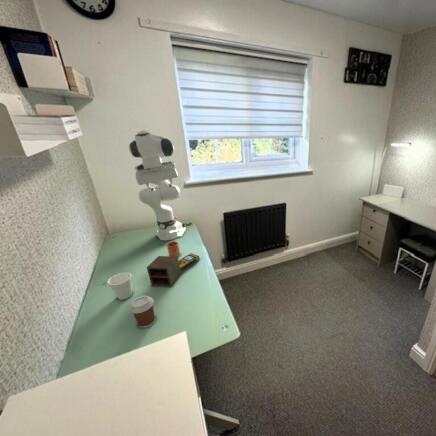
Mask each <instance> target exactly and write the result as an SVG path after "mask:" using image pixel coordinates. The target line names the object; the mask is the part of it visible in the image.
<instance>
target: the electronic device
mask: <svg viewBox="0 0 436 436" xmlns="http://www.w3.org/2000/svg"><path fill="white" fill-rule="evenodd" d="M178 261H179V266H180V271H181V272H183V271H184V270H186V269H187V268H189V267H191V266H192V265H193V264H195V263H196V262H198V261H200V256H199V255H198V254H194V253H191V252H190V253H189V254H187V255H185V256H184V257H182V258H180V259H178Z"/></svg>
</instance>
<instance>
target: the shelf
mask: <svg viewBox="0 0 436 436" xmlns="http://www.w3.org/2000/svg"><path fill="white" fill-rule="evenodd" d="M178 260H179V257H170V256H169V255H168V256H165V255H158V256H157V257H155V259H154V260H153V261H151V262H150V264H148V265H147V266H146V271H147V273H148V277H149V281H150V284H151V286H152V287H169V288H172V287H173V285H174V284H175V283H176V282H177V281H178V279H179V278H180V276H181V275H182V271H180V266H179V261H178Z"/></svg>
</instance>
